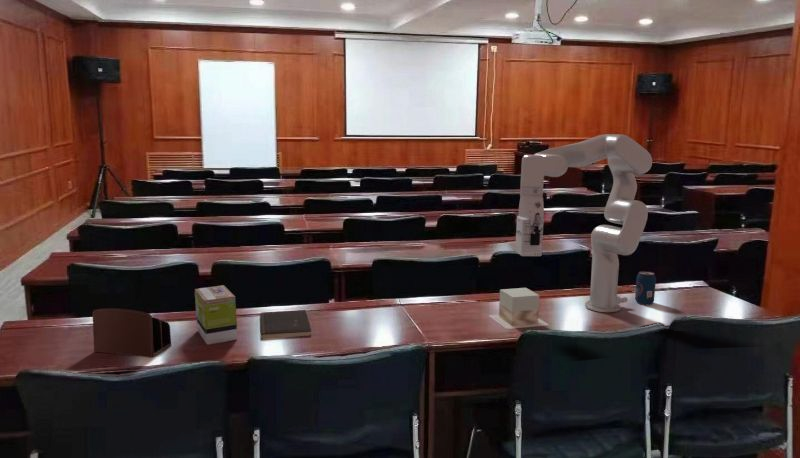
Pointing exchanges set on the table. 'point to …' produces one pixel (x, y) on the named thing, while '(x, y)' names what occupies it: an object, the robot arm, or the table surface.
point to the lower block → (518, 316)
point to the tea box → (216, 314)
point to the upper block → (519, 299)
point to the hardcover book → (284, 324)
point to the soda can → (645, 287)
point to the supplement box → (526, 239)
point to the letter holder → (129, 333)
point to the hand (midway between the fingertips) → (528, 242)
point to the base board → (508, 326)
